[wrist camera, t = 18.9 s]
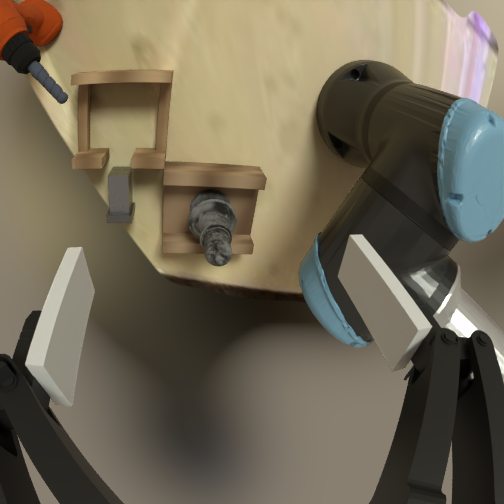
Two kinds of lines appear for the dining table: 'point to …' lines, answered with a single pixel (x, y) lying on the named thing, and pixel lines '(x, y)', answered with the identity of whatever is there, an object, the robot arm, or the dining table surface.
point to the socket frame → (87, 156)
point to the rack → (199, 179)
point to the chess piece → (213, 224)
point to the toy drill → (29, 39)
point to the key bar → (120, 195)
